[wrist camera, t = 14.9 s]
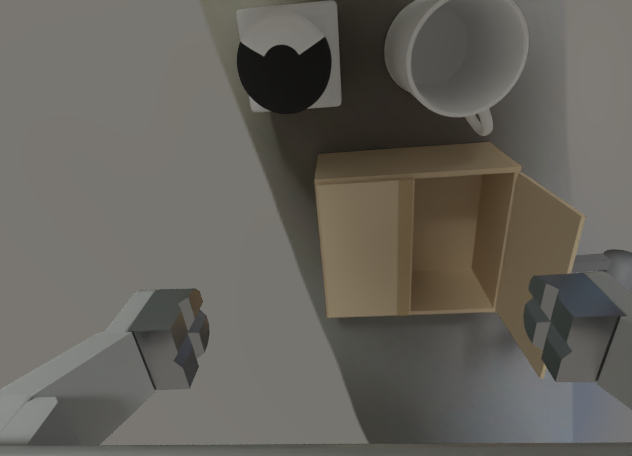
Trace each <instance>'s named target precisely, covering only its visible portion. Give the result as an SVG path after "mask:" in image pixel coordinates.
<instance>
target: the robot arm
mask: <svg viewBox="0 0 632 456" xmlns="http://www.w3.org/2000/svg"><path fill="white" fill-rule="evenodd" d="M528 290H529V292H530V293H531V295H532V296H533V298H532V299H531V300H530V301H528V302H527V303H526V304H525V308H524V314H523V319H524V327H525V330H526V333H527V336H528V338H529V339H530V341H531V343H532V344H533V345H535V346H536V347H538V348H540V349H541V350H543V353H542V357H541V359H542V361H543V362H544V364H545V366H546V367H547V369H548V370H549V372H550V374H551V375H552V377H553V378H554V380H555V382H597V385H599V386H600V387H602V388H603V389H604V390H606V391H607V392H608V393H610V394H611V395H612V396H614V397H615V398H617V399H618V400H619V401H621V402H622V403H624V404H625V405H626V406H627V407H629V408H630V409H632V294H631V293H630V292H629V291H628V290H626V289H625V288H624V287H623V286H622V285H621V284H620V283H619V282H618V281H616V280H615V279H614V278H613V277H612V276H611V275H610V274H609V273H606V272H604V271H593V272H579V273H570V274H550V275H533V277H532V278H531V280H530V283H529V288H528ZM202 302H203V301H202V298H201V294H200V291H198V290H197V289H159V290H157V289H154V290H153V289H152V290H139V291H137V292H135V293H134V295H133V296H132V297H131V298H130V300H129V301H128V302H127V303H126V305H125V306H124V307H123V309H122V310H121V311H120V313H119V314H118V315H117V317H116V318H115V319H114V320H113V322H112V323H111V324H110V326H109V327H108V328H107V329H106V331H105V332H104V333H97V334H95V335H94V336H92V337H90V338H88V339H87V340H85V341H83V342H82V343H80V344H78V345H76V346H75V347H73V348H71V349H70V350H68V351H66V352H64V353H62V354H61V355H59V356H57V357H56V358H54V359H52V360H50V361H49V362H47V363H45V364H44V365H42V366H40V367H39V368H37V369H35V370H33V371H31V372H30V373H28V374H26V375H25V376H23V377H21V378H19V379H18V380H16V381H14V382H13V383H11V384H9V385H7V386H6V387H4V388H2V389H1V390H0V456H632V442H629V443H628V442H622V443H425V444H267V445H266V444H262V445H261V444H259V445H100V444H101V443H102V442H103V441H104V440H105V439H106V438H107V437H108V436H110V435H111V434H112V433H113V432H114V431H115V430H116V429H117V428H118V427H119V426H120V425H121V424H122V423H123V422H124V421H125V420H126V419H127V418H129V417H130V416H131V415H132V414H133V413H134V412H135V411H136V410H137V409H138V408H139V407H140V406H141V405H142V404H143V403H144V402H145V401H146V400H147V399H148V398H150V397H151V396H152V395H153V394H154V393H155V390H168V389H188V388H189V389H190V387H191V384H192V382H193V379H194V377H195V375H196V372H197V370H198V367H199V365H198V363H197V358H198V357H200V356H201V355H202V354H203V353H204V352H205V350H206V347H207V344H208V339H209V323H208V319H207V316H206V315H205V314H204V313H203V312H202V311H201V310H200V307H201V305H202Z"/></svg>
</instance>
